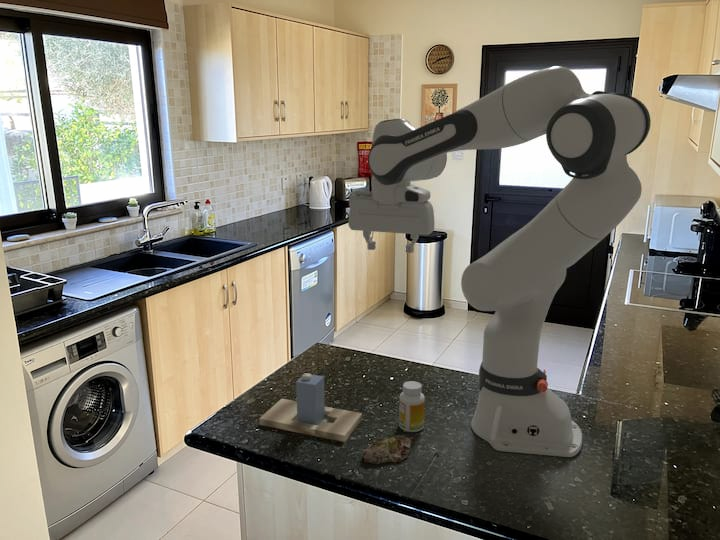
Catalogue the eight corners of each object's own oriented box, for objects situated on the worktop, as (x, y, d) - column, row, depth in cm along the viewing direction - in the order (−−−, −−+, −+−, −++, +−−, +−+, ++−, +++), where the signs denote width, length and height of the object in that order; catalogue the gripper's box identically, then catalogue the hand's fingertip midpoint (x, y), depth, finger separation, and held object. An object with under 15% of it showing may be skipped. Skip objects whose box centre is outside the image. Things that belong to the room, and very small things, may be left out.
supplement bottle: (427, 423, 126) (428, 382, 124) (419, 435, 122) (420, 392, 119) (404, 418, 129) (404, 377, 126) (395, 429, 124) (395, 387, 122)
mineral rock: (394, 426, 121) (417, 433, 114) (398, 447, 121) (421, 455, 114) (350, 443, 116) (371, 451, 109) (354, 464, 116) (375, 474, 109)
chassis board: (362, 419, 128) (362, 413, 128) (344, 442, 119) (344, 435, 119) (281, 404, 135) (281, 398, 135) (259, 424, 126) (259, 418, 126)
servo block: (325, 418, 128) (324, 373, 126) (316, 428, 124) (315, 381, 122) (306, 414, 130) (305, 370, 127) (297, 424, 126) (295, 378, 123)
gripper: (343, 191, 134) (344, 250, 138) (430, 195, 127) (428, 257, 130) (353, 188, 140) (354, 245, 143) (437, 192, 133) (435, 251, 136)
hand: (390, 250), depth 137 cm, fingers open, 8 cm apart
